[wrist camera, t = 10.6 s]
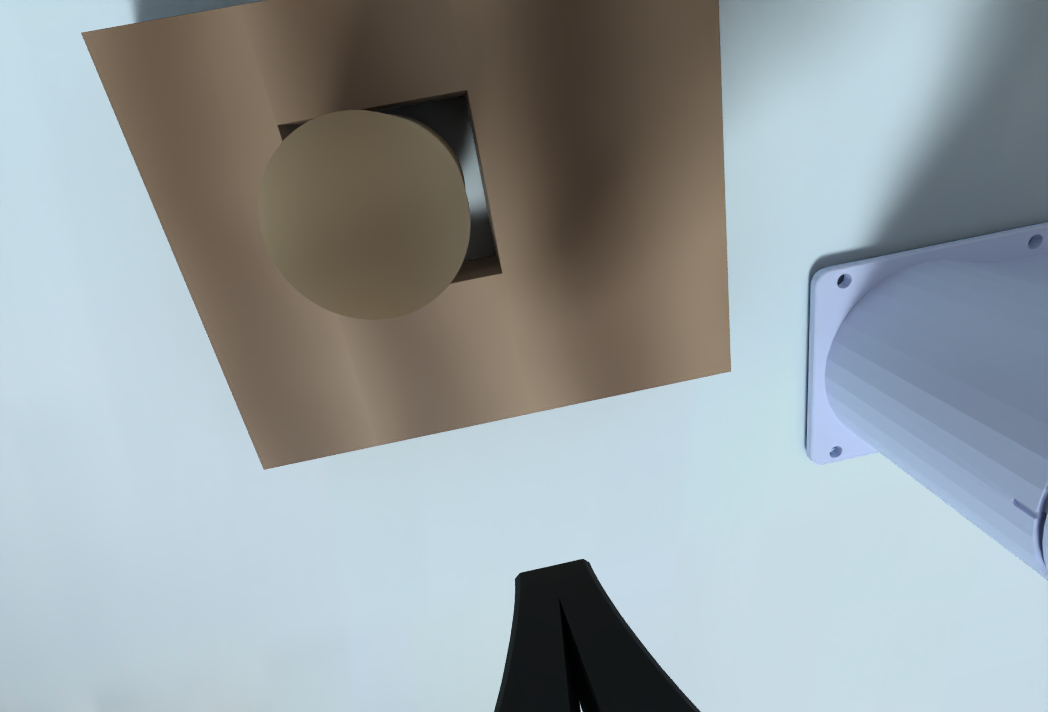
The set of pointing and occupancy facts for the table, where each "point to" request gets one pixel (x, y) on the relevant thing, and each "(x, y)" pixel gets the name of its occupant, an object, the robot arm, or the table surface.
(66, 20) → the table surface
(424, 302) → the peg
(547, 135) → the board
